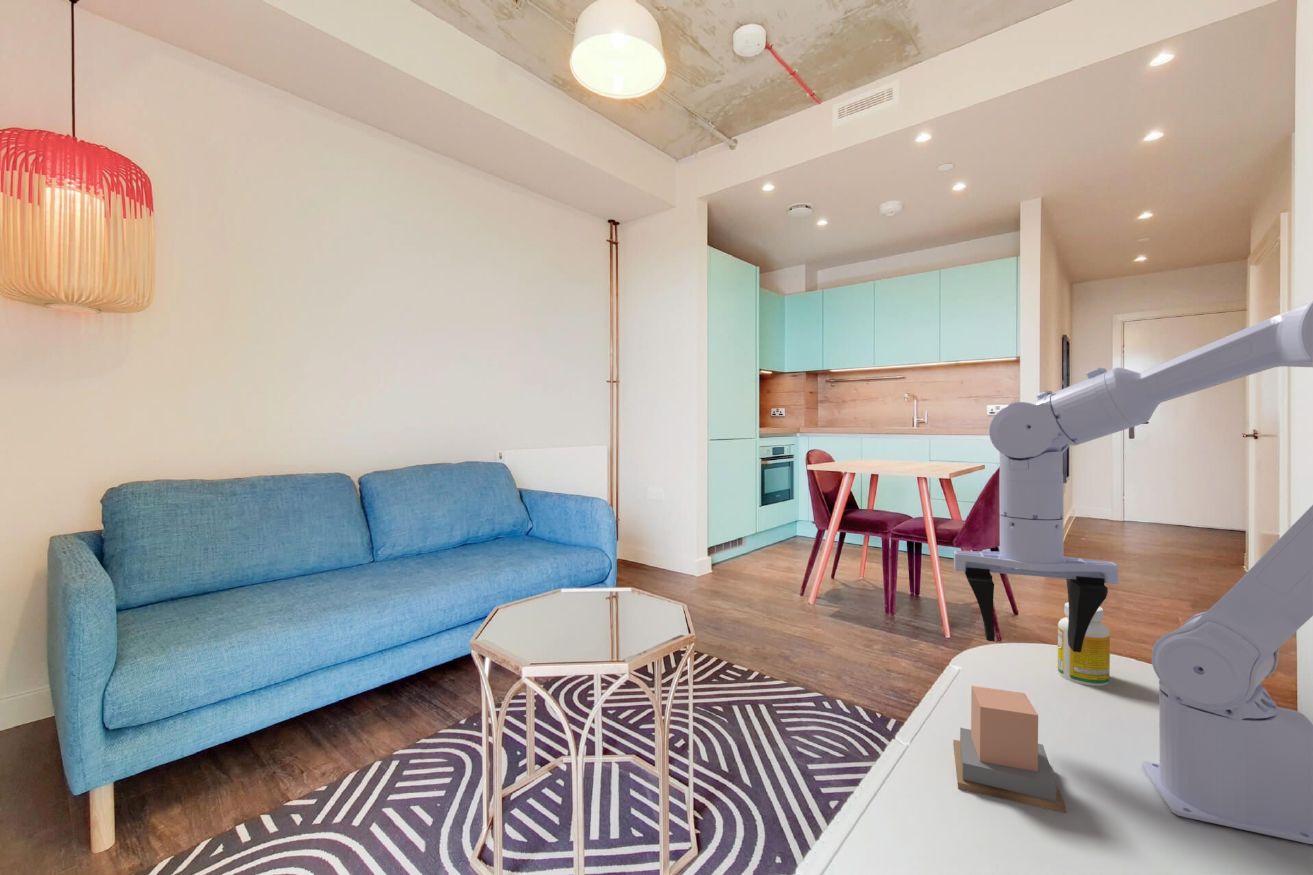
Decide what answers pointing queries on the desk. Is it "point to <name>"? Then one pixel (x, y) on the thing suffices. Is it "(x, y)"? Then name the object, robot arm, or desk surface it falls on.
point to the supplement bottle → (1085, 653)
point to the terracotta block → (1004, 728)
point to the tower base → (1003, 793)
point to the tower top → (1007, 772)
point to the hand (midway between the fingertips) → (1031, 643)
